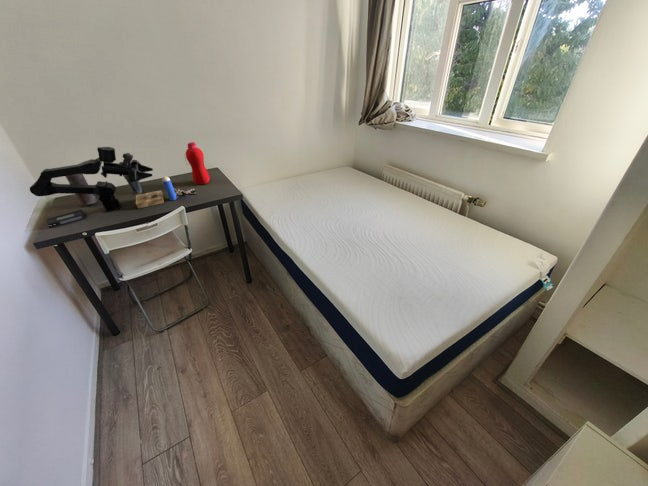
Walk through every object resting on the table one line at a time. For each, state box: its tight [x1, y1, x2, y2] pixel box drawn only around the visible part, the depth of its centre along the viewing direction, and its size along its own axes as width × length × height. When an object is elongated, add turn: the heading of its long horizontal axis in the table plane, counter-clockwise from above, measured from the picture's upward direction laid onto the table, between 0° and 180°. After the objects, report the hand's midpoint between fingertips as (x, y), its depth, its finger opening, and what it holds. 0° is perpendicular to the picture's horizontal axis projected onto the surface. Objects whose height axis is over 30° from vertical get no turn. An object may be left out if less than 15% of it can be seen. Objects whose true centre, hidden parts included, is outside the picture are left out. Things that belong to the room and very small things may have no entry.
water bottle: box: [184, 141, 211, 186], centre depth 169 cm, size 9×11×25 cm
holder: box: [135, 189, 165, 209], centre depth 155 cm, size 13×12×3 cm
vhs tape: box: [46, 209, 86, 229], centre depth 139 cm, size 8×14×2 cm, turn 130°
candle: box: [64, 174, 98, 207], centre depth 148 cm, size 8×7×20 cm
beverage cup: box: [122, 158, 143, 195], centre depth 160 cm, size 7×7×20 cm
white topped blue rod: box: [161, 176, 178, 201], centre depth 154 cm, size 4×4×14 cm
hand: (152, 172), depth 149 cm, fingers open, 9 cm apart
